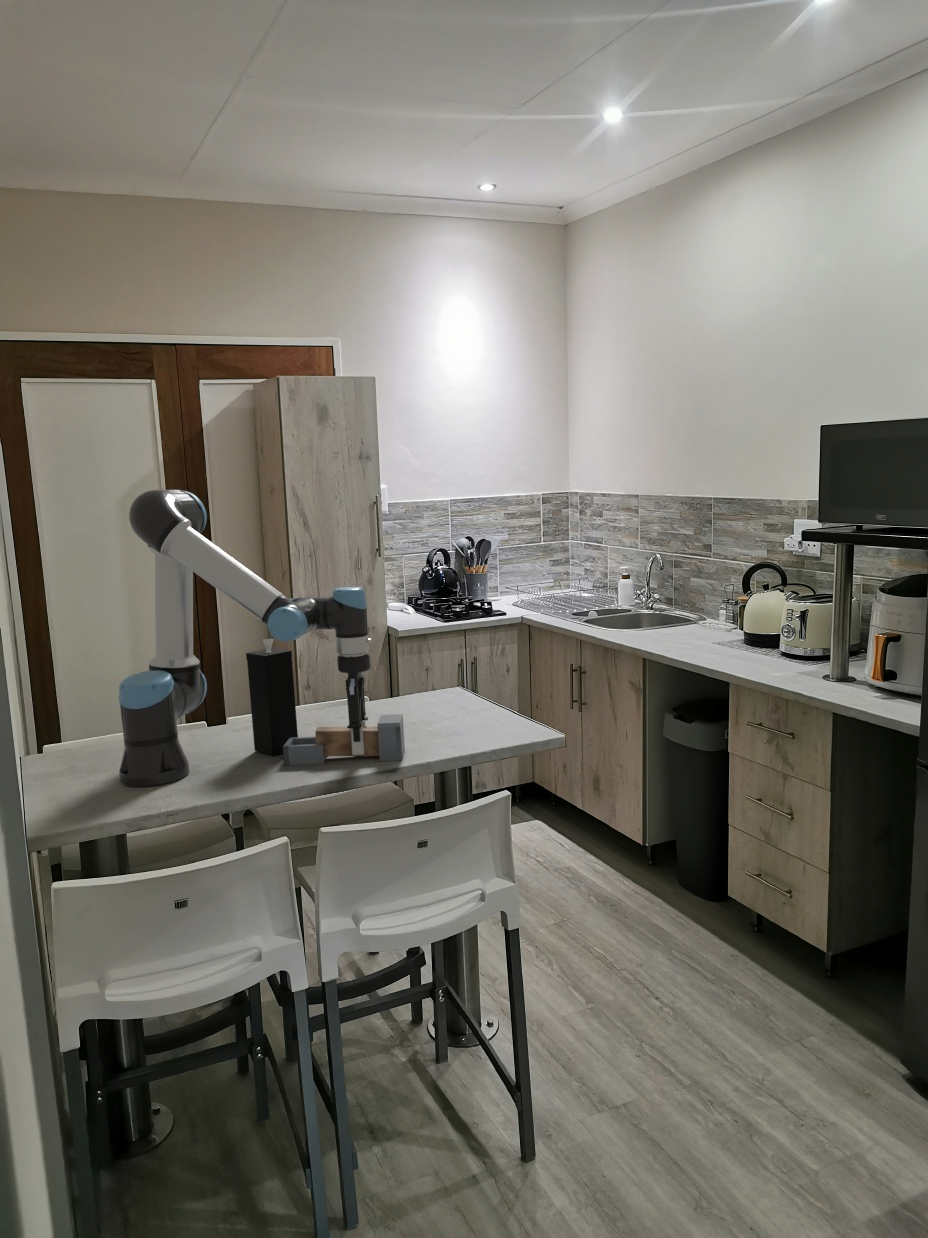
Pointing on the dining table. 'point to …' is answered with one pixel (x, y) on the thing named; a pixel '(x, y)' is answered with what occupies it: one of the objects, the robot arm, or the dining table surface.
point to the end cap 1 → (303, 751)
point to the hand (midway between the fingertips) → (359, 751)
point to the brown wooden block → (346, 741)
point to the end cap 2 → (391, 737)
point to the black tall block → (272, 698)
